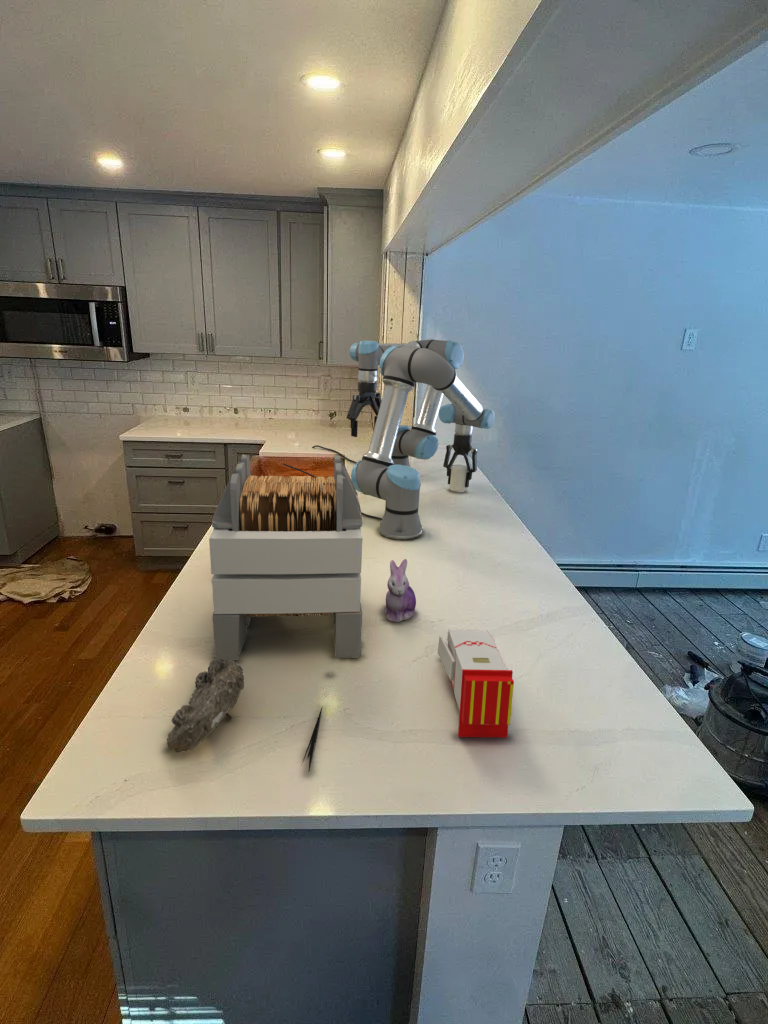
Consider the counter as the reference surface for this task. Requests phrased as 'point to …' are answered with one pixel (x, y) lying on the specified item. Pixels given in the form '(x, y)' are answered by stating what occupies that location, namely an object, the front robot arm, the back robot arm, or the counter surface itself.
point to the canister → (458, 478)
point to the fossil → (206, 705)
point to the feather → (313, 740)
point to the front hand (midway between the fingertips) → (458, 484)
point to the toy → (478, 682)
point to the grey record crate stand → (286, 555)
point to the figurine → (399, 594)
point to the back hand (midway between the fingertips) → (365, 434)
